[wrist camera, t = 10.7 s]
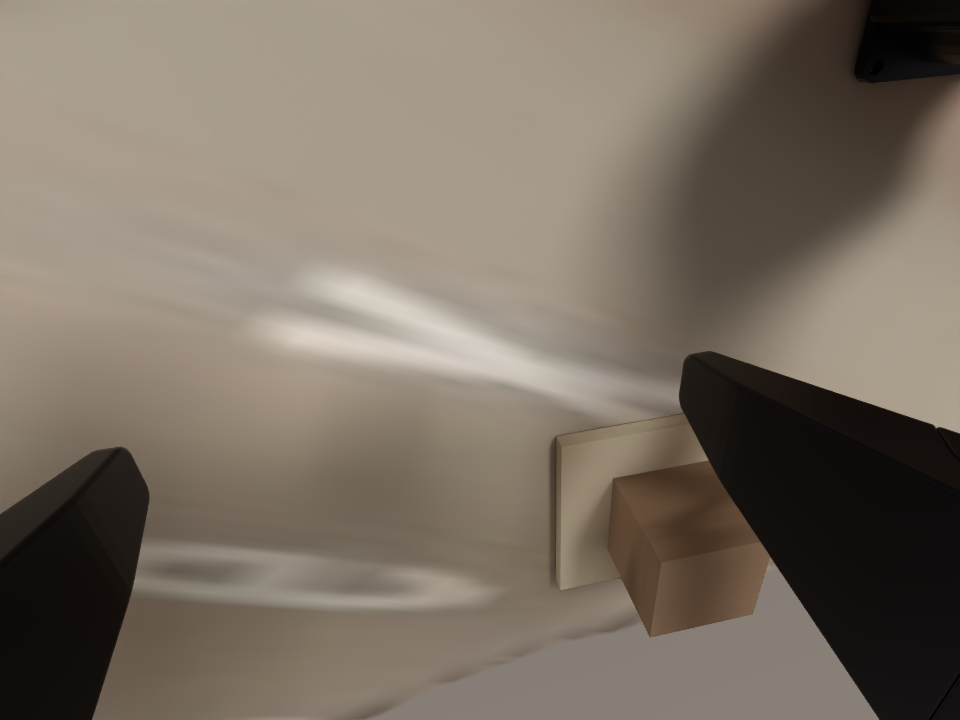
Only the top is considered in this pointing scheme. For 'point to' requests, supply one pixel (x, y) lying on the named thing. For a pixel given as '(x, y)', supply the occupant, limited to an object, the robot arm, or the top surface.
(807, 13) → the top surface
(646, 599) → the walnut cube
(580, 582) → the birch coaster
